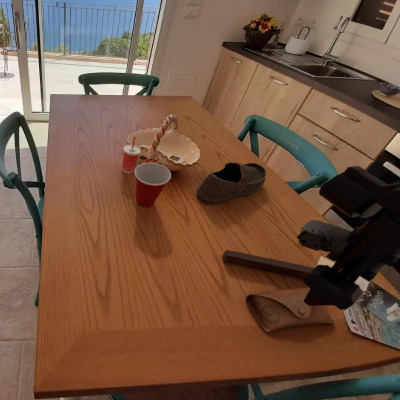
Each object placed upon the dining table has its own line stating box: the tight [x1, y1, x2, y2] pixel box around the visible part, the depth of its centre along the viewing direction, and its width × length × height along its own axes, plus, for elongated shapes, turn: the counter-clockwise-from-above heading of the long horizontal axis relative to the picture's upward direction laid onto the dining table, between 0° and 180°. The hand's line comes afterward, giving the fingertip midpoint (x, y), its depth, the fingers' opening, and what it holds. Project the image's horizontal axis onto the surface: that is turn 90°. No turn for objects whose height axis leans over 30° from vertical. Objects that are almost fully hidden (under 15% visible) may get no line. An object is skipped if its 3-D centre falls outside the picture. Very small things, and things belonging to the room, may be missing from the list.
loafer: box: [195, 161, 267, 204], centre depth 91 cm, size 11×30×11 cm, turn 121°
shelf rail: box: [221, 249, 315, 280], centre depth 70 cm, size 2×26×3 cm, turn 77°
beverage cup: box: [121, 135, 142, 175], centre depth 96 cm, size 6×6×14 cm
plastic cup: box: [133, 161, 172, 208], centre depth 84 cm, size 11×11×12 cm
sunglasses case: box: [245, 287, 336, 334], centre depth 62 cm, size 18×7×7 cm, turn 99°
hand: (317, 291), depth 51 cm, fingers open, 9 cm apart
